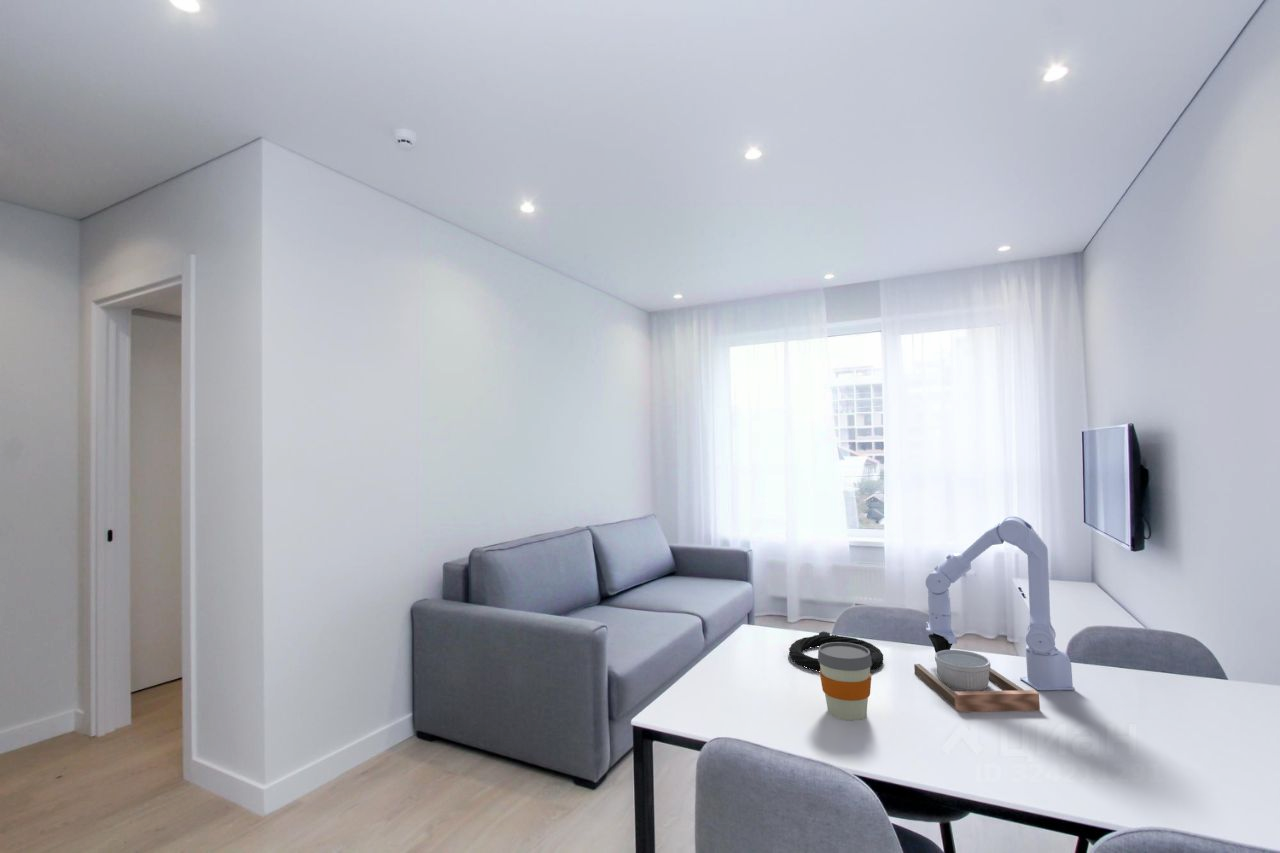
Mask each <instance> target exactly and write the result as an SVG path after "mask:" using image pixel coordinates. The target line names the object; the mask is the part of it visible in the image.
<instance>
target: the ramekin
mask: <svg viewBox="0 0 1280 853" xmlns="http://www.w3.org/2000/svg"><path fill="white" fill-rule="evenodd" d="M934 661H935V663H936V668H937V674H938V679H939V680H940V681H941V682H942V683H943V684H945V685H946V686H947V687H948V688H950V689H953V690H958V691H961V692H964V691H984V690H985V689H986V688H987V687H988V685H989V683H990V682H989V681H990V680H989V668H991V660H990V659H989V657H987V656H985V655H983V654H981V653H977V652H973V651H969V650H965V649H964V650H962V649H950V650H942V651H939V652H937V653H936V652H935V654H934Z"/></svg>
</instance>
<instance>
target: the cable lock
mask: <svg viewBox="0 0 1280 853" xmlns="http://www.w3.org/2000/svg"><path fill="white" fill-rule="evenodd" d="M831 642H846V643H853V644H858V645H861V646H864V647H866V648H867V649H869V650H870V655H871V661H872V665H871V667H870V673H871V672H874V671H875V670H877V669H878V668H879V667H881V666H882V665H883V661H884V654H883V652H882V651H881V650H880V648H878V647H877V646H875V645H873V644H872V643H870V642H868V641H866V640H862V639H858V638H856V637H851V636H850V637H849V636H841V635H837V634H835V635H834V634H831V633H830V632H827V631H825V630H824V631H821V632H818V634H815V635H813V636H807V637H803V638H800V639H797V640H795V641H793V643H792V644H790V646H789V648H788V650H789V652H788V656H790V659H792V661H793V662H794V663H795V662H796V663H795V664H797V665H799V666H801V667H803V666H805V667H807V668H810V669H813V670H812V671H814V670H817V671H816V672H818V671H820V669H821V668H820V663H819V661H818V657H817V658H816V657H812V656H809V655H807V654H805V653H803V652H804V651H806V650H809V649H808V648H810V647H814V648H817V647H816V646H821V645H823V644H826V643H831ZM805 649H806V650H805ZM810 649H811V648H810ZM803 650H804V651H803ZM807 668H806V669H807ZM810 669H809V670H810Z"/></svg>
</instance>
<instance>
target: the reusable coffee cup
mask: <svg viewBox="0 0 1280 853" xmlns="http://www.w3.org/2000/svg"><path fill="white" fill-rule="evenodd" d="M817 655H818V656H817V659H818V661H819V663H820V668H821V669H820V672H819V677H820V682H821V689H822V691H823V693H824V694H825V695H824V696H825V701H826V702H825V703H826V708H827V713H828V714H829V715H830V716H832V717H834V718H836V719H839V720H843V721H853V722H854V721H860V720H863V719H865V718H866V717H867V714H868V713H867V712H868V702H869V701H868V700H869V697H870V695H871V685H872V674H871V672H870V667H871V665H872V661H871V655H870V650H869V649H867V648H866V647H864V646H861V645H858V644H853V643H846V642H831V643H826V644H823V645H821V646H819V647H818V652H817Z"/></svg>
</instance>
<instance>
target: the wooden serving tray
mask: <svg viewBox="0 0 1280 853" xmlns="http://www.w3.org/2000/svg"><path fill="white" fill-rule="evenodd" d="M913 665H914V666H913V667H914V674H915V675H916V676H917V677H919V678H920V679H921V680H922V681H923V682H924V683H925V684H927V685H928V687H930V688H931V689H932V690H934V691H935V692H936V693H937V694H938V695H939V696H940V697H942V698H943V699H944V700H945V701H946V702H947V703H949V704H950V705H951V706H952V707H953V708H954V709H956V710H957V711H958V712H959V713H966V712H967V713H969V712H970V713H972V712H974V713H975V712H976V713H977V712H1026V711H1028V712H1030V711H1033V712H1037V711H1041V707H1040V693H1038V692H1037V691H1035V690H1034V689H1029V690H1028V689H1027V690H1026V689H1023V688H1022V687H1020V686H1019V685H1017V684H1016V683H1014V682H1012V680H1010V679H1008V677H1007V678H1006V677H1005V676H1004V675H1002V674H1001V673H998V672H997V671H996V670H995V669H993V668H991V667H990V668H989V681H990V682H992V683H993V684H994V685H996V686H997V687H998V688H1000V689H1002V690H981V691H954V690H952V688H951V687H948V686H946V685H945V684H944V683H943V682H942V681H941V680H940V678H938V677H937V676H935V675H934V674H933V673H931V672H930V671H929V670H928V669H927V668H925V667H924V666H923V665H922V664H920V663H914V664H913Z"/></svg>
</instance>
